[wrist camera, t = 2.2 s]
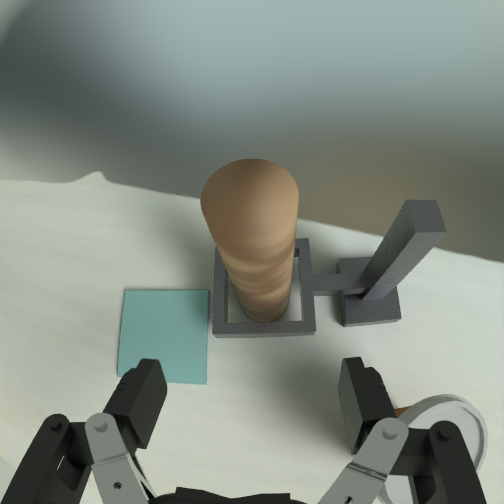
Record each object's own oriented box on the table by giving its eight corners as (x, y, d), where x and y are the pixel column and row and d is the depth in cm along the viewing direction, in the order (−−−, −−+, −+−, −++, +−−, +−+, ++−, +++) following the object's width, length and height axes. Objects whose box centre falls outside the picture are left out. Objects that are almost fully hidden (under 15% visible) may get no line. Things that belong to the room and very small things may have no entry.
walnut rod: (241, 322, 30) (196, 240, 14) (241, 277, 32) (204, 162, 16) (290, 321, 30) (302, 235, 14) (287, 275, 32) (294, 156, 16)
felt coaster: (119, 376, 28) (117, 376, 28) (127, 291, 33) (125, 290, 32) (206, 384, 28) (205, 384, 27) (209, 291, 32) (208, 289, 32)
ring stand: (221, 341, 30) (169, 297, 16) (223, 261, 33) (185, 168, 20) (397, 330, 28) (480, 278, 14) (385, 253, 32) (440, 164, 18)
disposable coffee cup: (326, 470, 23) (353, 515, 12) (360, 385, 26) (407, 382, 16) (406, 483, 21) (462, 517, 10) (436, 403, 24) (505, 401, 13)
